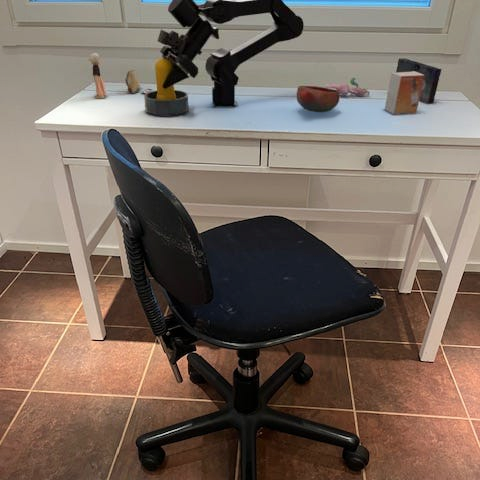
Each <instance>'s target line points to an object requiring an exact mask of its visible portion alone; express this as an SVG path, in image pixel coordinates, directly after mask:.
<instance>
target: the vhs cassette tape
mask: <svg viewBox="0 0 480 480" xmlns="http://www.w3.org/2000/svg"><path fill="white" fill-rule="evenodd" d="M412 71H415V72H418V73H421V74H423V75H425V76H424V81H423V85H422V90H421V94H420V99H419V102H421V103H424V104H433V103H434V101H435V98H436V94H437V89H438V85H439V81H440V77H441V73H442V68H439V67H435V66H433V65H428V64H425V63H422V62H419V61H414V60H411V59H408V58H405V57H404V58H398V59H397V66H396V71H395V73H399V72H412Z"/></svg>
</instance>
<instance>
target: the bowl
mask: <svg viewBox="0 0 480 480" xmlns="http://www.w3.org/2000/svg"><path fill="white" fill-rule="evenodd" d="M295 95H296V101H297V103H298V104H299V105H300V107H302V108H303V109H304V110H306V111H307V112H314V113H326V112H330V111H332V110H334V109H335V108H336V107H337V106H338V104H339V103H340V98H341V97H340V96H341V94H339V91H338V90H337V89H335V88H325V87H324V86H316V85H298V86H297V89H296V93H295Z"/></svg>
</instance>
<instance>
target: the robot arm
mask: <svg viewBox="0 0 480 480" xmlns="http://www.w3.org/2000/svg"><path fill="white" fill-rule="evenodd" d="M167 11H168V13H169V14H170V15H171V16H172V17H173V18H174V20H175V21H176V22H177V23H178V25H180V26H181V27H182V28H189V29H188V30H187V32H186V33H185V34H179V33H178V32H176V31H174V30H171V31H170V32H168V31H165V30H164V29H160V32H159V34H158V38H157V42H158V43H160V44H162V45H163V46H162V47H161V49H160V51H159V53H161V58H162V59H167V60H169V61H170V62H171V70H170V72H169V74H168V76H167V78H166V79H165V81H164V83H163V85H162V87H163V88H164V89H166V88H168V87H170V86H172V85H174V86H175V85H176V84H177V83H179V82H182V81H184V80H186V79H189V78H190V77H191V78H193V79H195V78H196V77H197V75H198V74H199V67H198V66H197V65H196V64H195V63H194V62H193V61H194V60H195V59H196V57H197V56H198V55H199V56H201V54H202V53H203V51H202V49H203V48H204V47H205V45H206V44H207V43H208V41H209V40H210V38H211V37H212V38H214V39H216V40H219V39H220V33H219V30H220V29H219V27H216V26H213V25H212V23H214V24H218V25H223V24H226V23H229V22H231V21H233V20H235V19H236V18H239V17H246V16H247V17H248V16H254V15H255V16H256V15H262V14H269V15H270V17H271V20H272V21H273V22H272V24H271V25H270V26H269V28H268V29H266V30H264V31H263V32H260V33H259V34H257V35H255V36H254V37H252V38H251V39H249V40H247V41H245V42H244V43H242V44H240V45H238V46H236V47H234V48H233V49H232V50H230V49H226V48H225V47H220V48H218V50H216V51H215V52H211V53H210V54H209V55H210V56H209V57H207V59H206V61H205V71H206V74H207V75H209V76H210V79H211V81H212V82H213V87H211V95H212V96H211V97H212V98H211V101H212V104H213V105H214V107H217V108H221V107H222V108H223V107H226V108H227V107H236V95H235V94H236V86H237V85H238V82H239V79H240V77H239V76H238V75H237V74H236V73H235V72H237V71H236V70H237V69H238V68H239V66H240V65H242V64H244V63H246V62H247V61H249V60H250V59H253V58H254V57H255V56H257V55H258V54H260V53H263V52H264V51H266V50H267V49H269V48H270V47H272V46H274V45H276V44H278V43H282V42H285V41H291V40H294V39H296V38H298V37H300V36H301V35H302V34H303V31H304V28H305V27H304V26H305V24H304V20H303V18H302V17H301V16H299V15H297V14H296V13H295V12H294V11H293V10H292V9H291V8H290V7H289V6H288V5H287V4H285V2H284V1H283V0H205V2H204V3H201V4H197V2H195V1H194V0H171V2H170V3H169V5H168V7H167ZM201 16H202V17H204V19H203V18H202V17H201Z"/></svg>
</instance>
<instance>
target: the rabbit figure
mask: <svg viewBox="0 0 480 480" xmlns="http://www.w3.org/2000/svg"><path fill="white" fill-rule="evenodd" d="M355 80H356V77H352V78H351V79H350V84H351V85H352V86H356V87H355V88H354V87H351V88H350V87H349V84H348V83H346V82H340V83H338V84H336V83H327V84H325V85H324V86H323V88H328V89H334V90H338V91H339V95H341V97H347V95H348V94H351V95H352V96H354V95H356V96H357V97H360V98H361V97H362V98H363V97H364V96H366V95H367V96H370V91H369V90H368V89H367V88H362V87H361V86H359V83H358V82H357V81H355Z"/></svg>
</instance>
